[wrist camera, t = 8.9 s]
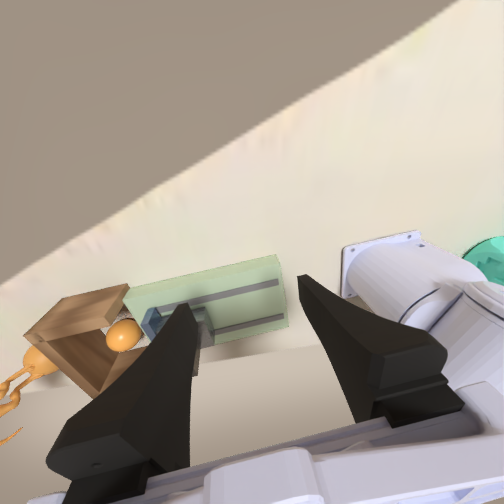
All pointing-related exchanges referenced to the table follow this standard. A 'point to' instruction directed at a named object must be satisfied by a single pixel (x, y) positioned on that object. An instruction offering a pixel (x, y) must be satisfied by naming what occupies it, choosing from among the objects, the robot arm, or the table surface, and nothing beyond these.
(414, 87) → the table surface
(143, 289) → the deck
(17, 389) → the figurine
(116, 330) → the ball
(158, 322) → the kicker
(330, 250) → the table surface
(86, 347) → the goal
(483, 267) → the decorative dice
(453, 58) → the table surface
